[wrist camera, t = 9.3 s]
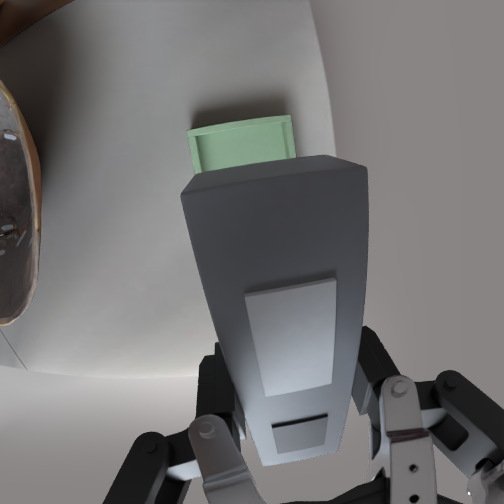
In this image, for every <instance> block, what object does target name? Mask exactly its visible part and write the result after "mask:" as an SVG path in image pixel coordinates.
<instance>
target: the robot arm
mask: <svg viewBox="0 0 504 504" xmlns="http://www.w3.org/2000/svg"><path fill="white" fill-rule="evenodd" d="M351 395H352V397H353V400H354V402H355V404H356V407H357V409H358V412H359V414H360V415H364V414H367V413H368V415H369V418H370V422H369V465H368V469H367V474H366V483H365V484H362V485H359V486H356V487H355V488H353V489H351V490H349V491H347V492H346V493H344V494H342V495H340V496H338V497H336V498H334V499H332V500H329V501H310V502H309V501H305V502H304V501H295V502H289V503H282V504H463V503H460V502H457V501H454V500H452V499H449V498H447V497H444V496H441V495H439V494H437V485H436V470H435V460H434V451H433V444H434V445H436V446H437V448H438V449H439V450H440V451H441V452H443V454H444V455H445V456H446V457H447V458H448V459H450V460H451V462H452V463H453V464H454V465H455V466H456V467H457V468H459V470H460V471H461V472H462V473H464V475H466V477H468V478H469V481H468V487H467V493H468V494H470V495H471V496H472V499H473V504H504V409H502V408H501V407H500V406H499V405H498V404H497V403H495V402H494V401H493V400H492V399H491V398H489V397H488V396H487V395H486V394H485V393H483V392H482V391H481V390H480V389H478V388H477V387H476V386H475V385H474V384H472V383H471V382H470V381H469V380H467V379H466V378H465V377H464V376H462V375H461V374H460V373H458V372H456V371H453V370H447V371H443V372H441V373H440V374H439V375H438V376H437V378H436V380H434V381H425V382H413V380H412V379H410V378H409V377H407V376H404V375H401V374H400V372H399V371H398V369H397V367H396V366H395V364H394V362H393V361H392V359H391V357H390V356H389V354H388V352H387V351H386V349H384V346H383V344H382V343H381V342H380V340H379V338H378V336H377V335H376V333H375V332H374V331H373V330H371V329H370V328H368V327H367V326H363V327H362V332H361V340H360V347H359V354H358V359H357V365H356V371H355V376H354V382H353V387H352V392H351ZM245 429H246V428H245V416H244V413H243V410H242V407H241V404H240V401H239V398H238V396H237V393H236V390H235V387H234V384H233V383H232V381H231V378H230V375H229V372H228V369H227V366H226V363H225V359H224V356H223V353H222V350H221V347H220V344H219V342H216V343H215V355H208V356H205V357H204V358H203V360H202V362H201V363H200V365H199V378H198V392H197V406H196V417H195V420H194V421H193V422H192V423H191V424H190V426H189V427H188V428H187V429H186V430H184V431H182V432H179V433H176V434H172V435H169V436H166V437H164V436H163V435H162V434H160V433H158V432H146V433H143V434H141V435H140V436H139V437H137V439H136V440H135V442H134V443H133V445H132V447H131V449H130V451H129V453H128V455H127V457H126V459H125V461H124V463H123V465H122V466H121V468H120V470H119V472H118V474H117V476H116V478H115V480H114V482H113V484H112V486H111V488H110V490H109V492H108V494H107V496H106V498H105V500H104V502H103V504H183V501H184V499H185V496H186V493H187V491H188V488H189V485H190V483H191V480H192V478H196V477H199V476H202V477H203V481H204V482H203V490H204V492H205V495H206V498H207V500H208V503H209V504H267V503H266V501H265V500H264V498H263V496H262V494H261V492H260V491H259V489H258V487H257V485H256V483H255V481H254V479H253V477H252V475H251V473H250V471H249V469H248V467H247V465H246V463H245V461H244V459H243V457H242V455H241V447H240V440H245V439H246V430H245Z"/></svg>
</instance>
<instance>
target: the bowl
mask: <svg viewBox="0 0 504 504" xmlns="http://www.w3.org/2000/svg"><path fill="white" fill-rule="evenodd" d="M5 130H6V131H5ZM41 203H42V180H41V168H40V162H39V157H38V153H37V149H36V146H35V144H34V141H33V138H32V135H31V133H30V131H29V129H28V126H27V124H26V121H25V119H24V117H23V115H22V113H21V111H20V109H19V107H18V105H17V103H16V101H15V99H14V97H13V95H12V94H11V92H10V91H9V90H8V89H7V88H6V86H5V85H4V84H3V83H2V81H1V80H0V235H1V234H4V235H3V236H0V326H1V325H9V324H11V323H12V322H13V321H15V320H16V319H17V318H19V317H21V316H22V315H23V314H24V312H25V311H26V310H27V308H28V306H29V304H30V302H31V300H32V298H33V296H34V293H35V289H36V285H37V280H38V270H39V256H40V242H41Z"/></svg>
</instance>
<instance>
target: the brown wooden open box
mask: <svg viewBox="0 0 504 504" xmlns="http://www.w3.org/2000/svg"><path fill="white" fill-rule="evenodd" d="M72 1H74V0H0V48H2V47H3V46H4V45H5V44H7V43H8V42H9V41H11V40H12V39H13V38H14V37H16V36H17V35H19V34H20V33H21V32H23V31H24V30H26V29H27V28H28V27H30V26H31V25H33V24H34V23H36V22H37V21H39V20H41V19H42V18H44V17H45V16H47V15H49V14H50V13H52V12H54V11H55V10H57V9H59V8H61V7H63V6H64V5H66V4H68V3H70V2H72Z"/></svg>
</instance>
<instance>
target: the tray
mask: <svg viewBox="0 0 504 504" xmlns="http://www.w3.org/2000/svg"><path fill="white" fill-rule="evenodd" d="M291 121H292V120H291V115H280V116H270V117H262V118H254V119H247V120H240V121H234V122H228V123H222V124H216V125H211V126H206V127H201V128H196V129H191V130H187V135H188V140H189V146H190V151H191V157H192V162H193V167H194V172H195V174H197V173H202V172H207V171H212V170H217V169H223V168H229V167H234V166H240V165H247V164H253V163H260V162H267V161H274V160H281V159H289V158H296V151H295V143H294V135H293V128H292V122H291Z"/></svg>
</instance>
